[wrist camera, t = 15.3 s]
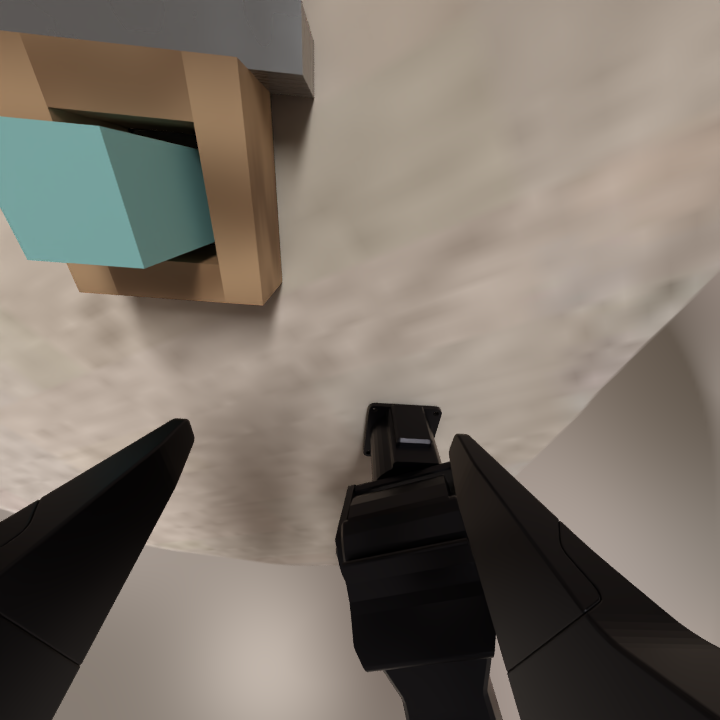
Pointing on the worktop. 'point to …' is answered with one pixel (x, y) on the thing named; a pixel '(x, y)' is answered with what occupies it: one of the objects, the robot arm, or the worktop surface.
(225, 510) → the worktop surface
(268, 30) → the backstop wall
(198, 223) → the turquoise rectangular prism
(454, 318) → the worktop surface
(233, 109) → the socket block
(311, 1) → the worktop surface
